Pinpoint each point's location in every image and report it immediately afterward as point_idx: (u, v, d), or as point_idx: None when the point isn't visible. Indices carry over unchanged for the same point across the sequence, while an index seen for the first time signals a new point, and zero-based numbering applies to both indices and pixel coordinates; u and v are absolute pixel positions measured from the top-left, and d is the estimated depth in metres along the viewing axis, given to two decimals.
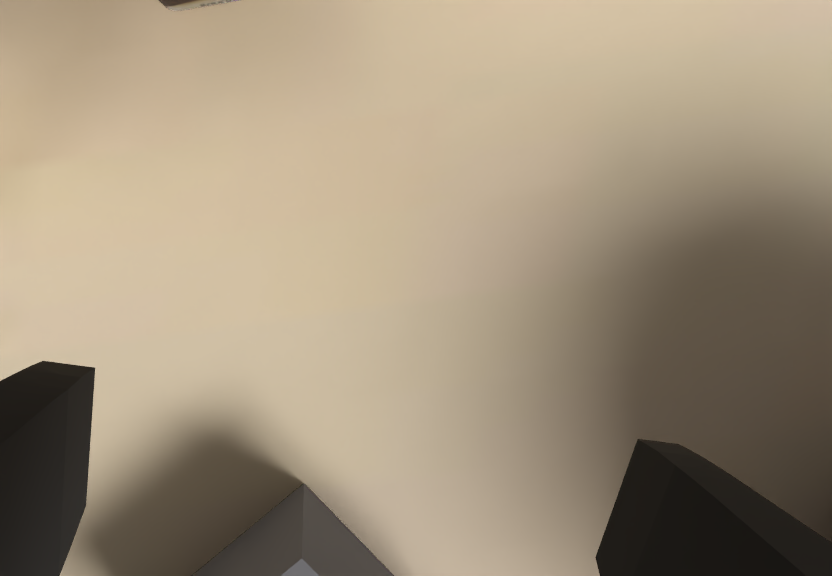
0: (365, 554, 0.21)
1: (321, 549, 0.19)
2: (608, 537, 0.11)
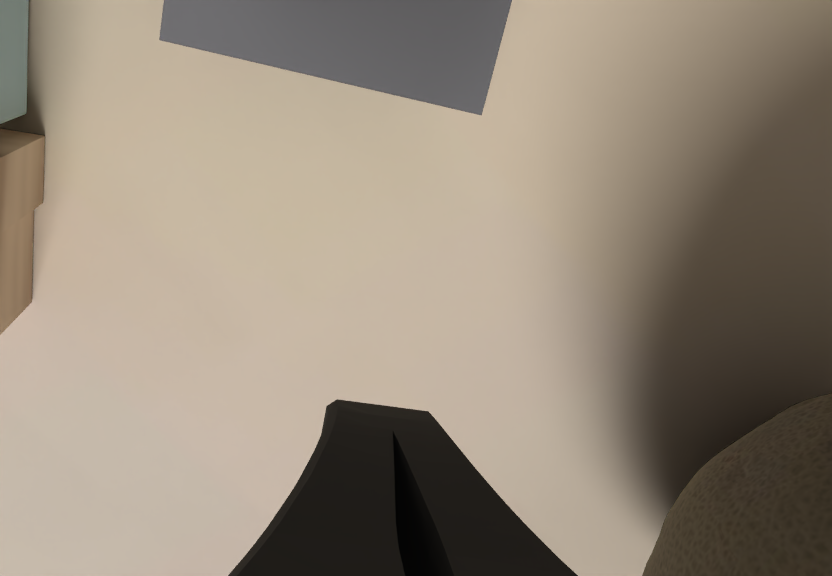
0: None
1: None
2: None
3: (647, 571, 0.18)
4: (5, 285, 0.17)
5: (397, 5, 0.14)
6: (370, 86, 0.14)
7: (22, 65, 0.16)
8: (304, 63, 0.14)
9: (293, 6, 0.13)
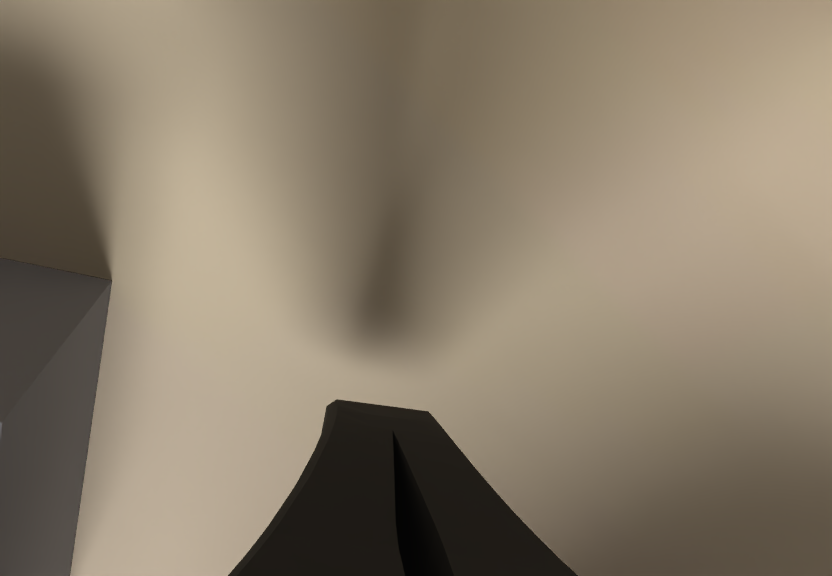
0: (80, 455, 0.11)
1: (41, 417, 0.09)
2: None
3: None
4: None
5: None
6: None
7: None
8: None
9: None
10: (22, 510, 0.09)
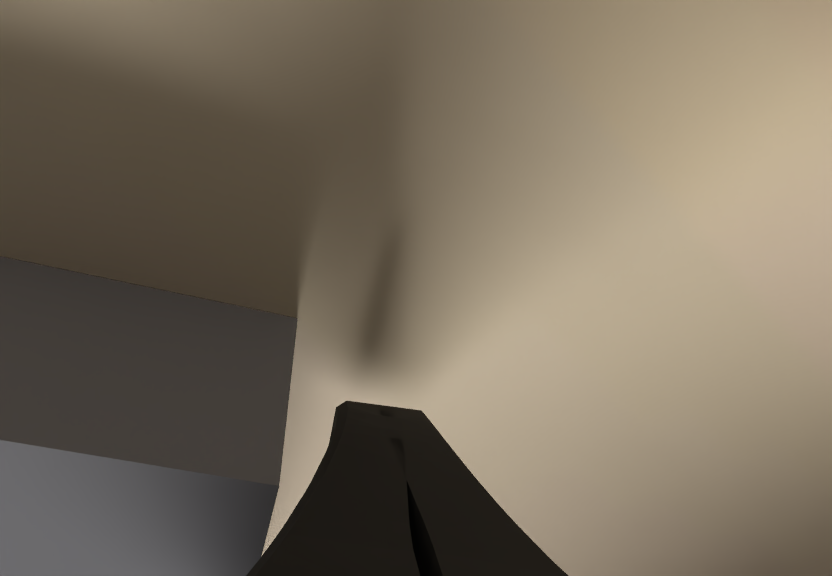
0: None
1: None
2: None
3: None
4: None
5: None
6: None
7: None
8: None
9: None
10: None
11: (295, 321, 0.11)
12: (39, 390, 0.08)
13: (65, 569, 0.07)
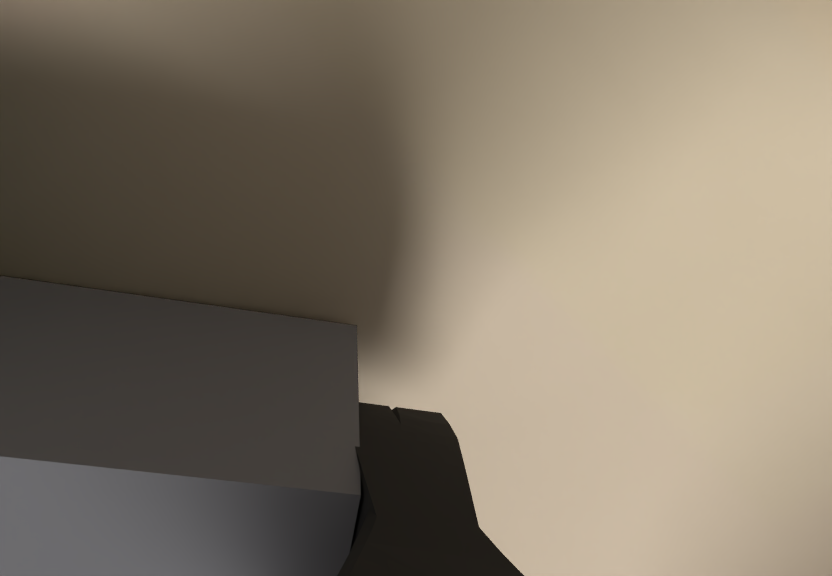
0: None
1: None
2: None
3: None
4: None
5: None
6: None
7: None
8: None
9: None
10: None
11: (355, 329, 0.11)
12: (117, 414, 0.08)
13: None
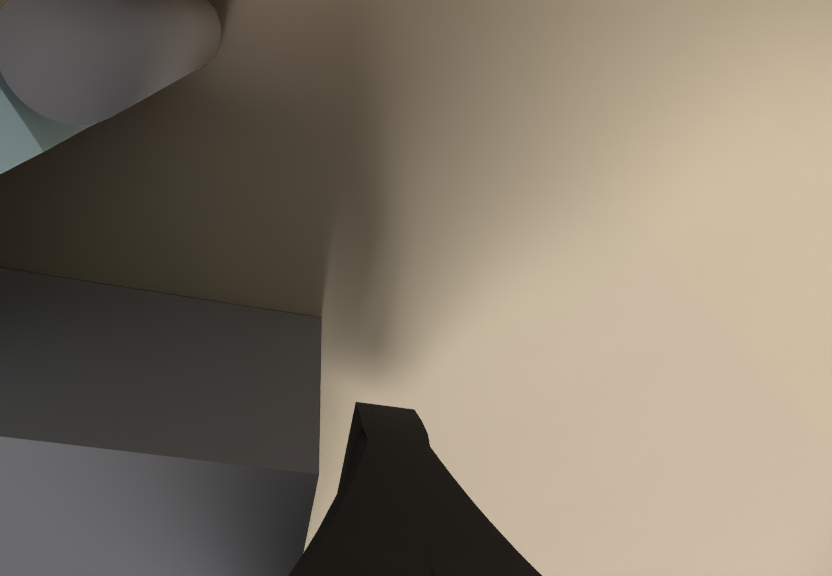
0: None
1: None
2: None
3: None
4: None
5: None
6: None
7: None
8: None
9: None
10: None
11: (319, 321, 0.11)
12: (76, 394, 0.08)
13: (110, 569, 0.07)
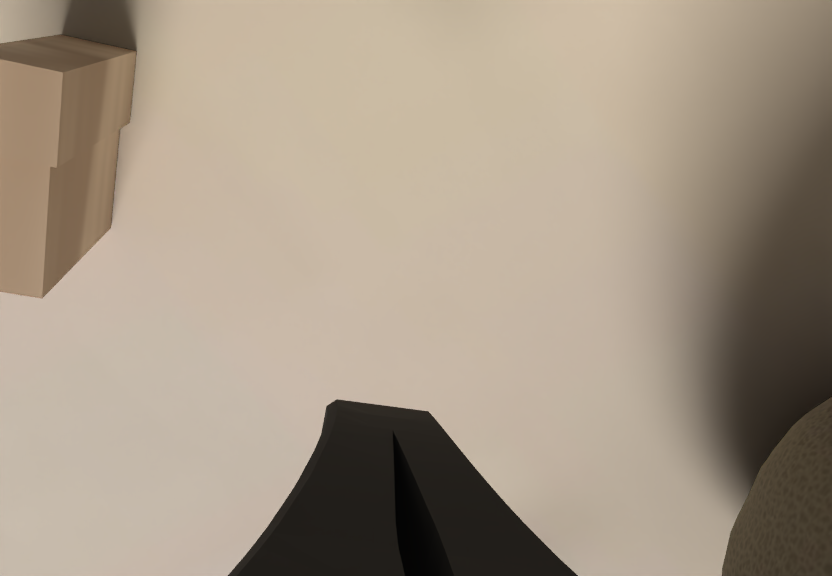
0: None
1: None
2: None
3: (742, 525, 0.17)
4: (93, 202, 0.16)
5: None
6: None
7: None
8: None
9: None
10: None
11: None
12: None
13: None
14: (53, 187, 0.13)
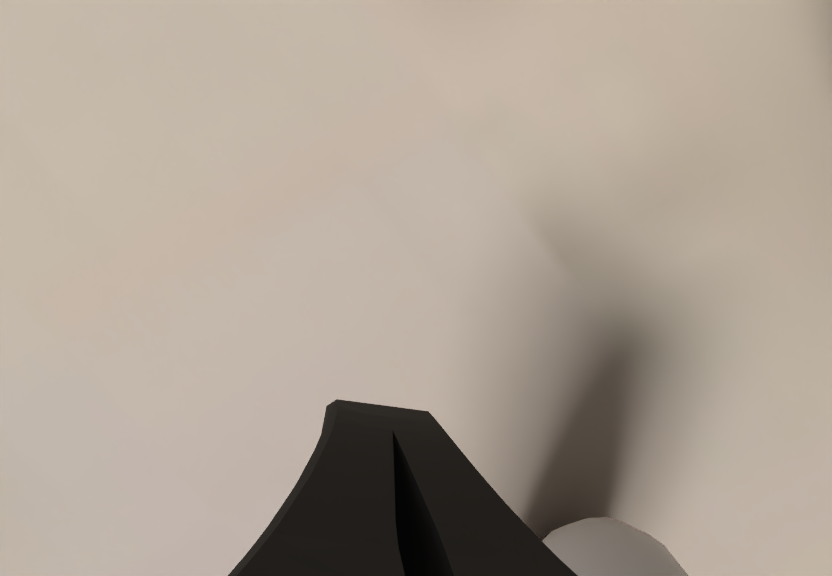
0: None
1: None
2: None
3: None
4: None
5: None
6: None
7: None
8: None
9: None
10: None
11: None
12: None
13: None
14: None
